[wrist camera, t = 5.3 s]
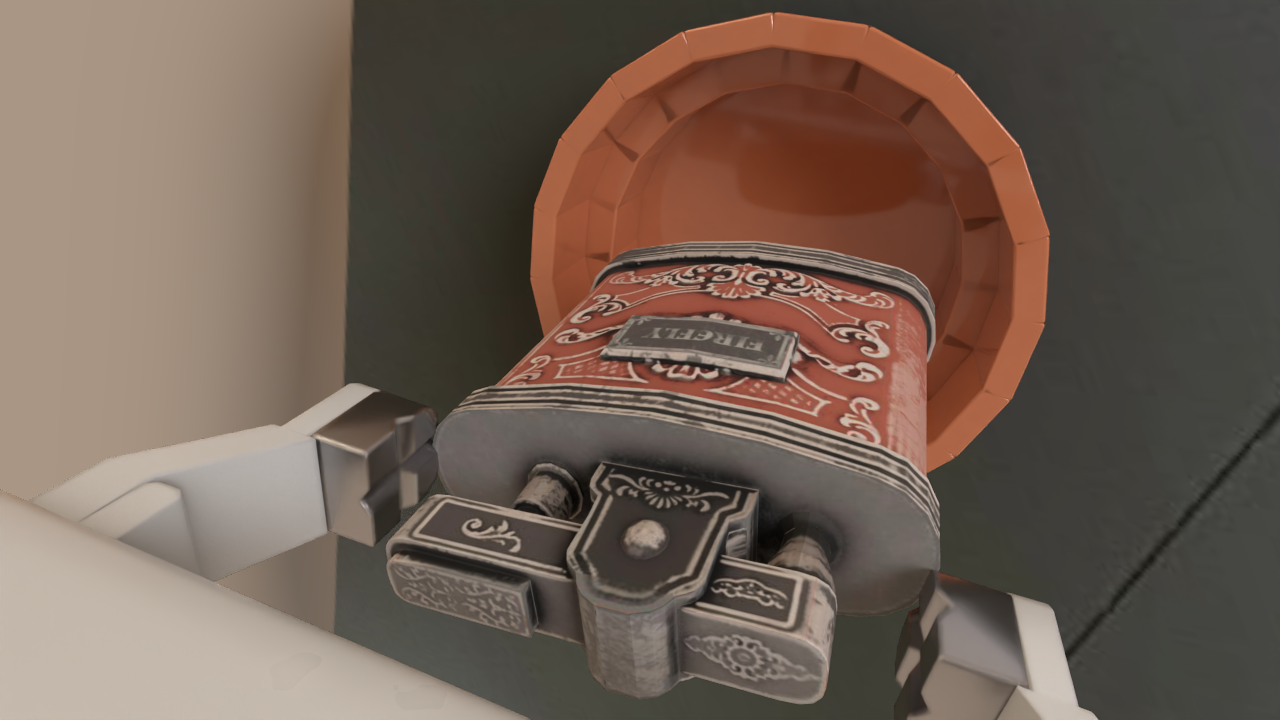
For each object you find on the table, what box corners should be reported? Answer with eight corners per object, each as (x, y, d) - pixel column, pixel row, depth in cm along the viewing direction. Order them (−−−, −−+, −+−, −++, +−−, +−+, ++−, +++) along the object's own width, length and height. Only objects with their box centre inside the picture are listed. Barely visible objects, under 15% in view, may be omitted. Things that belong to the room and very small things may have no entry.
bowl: (1093, 58, 20) (1161, 65, 14) (929, 463, 26) (936, 566, 21) (623, -9, 23) (544, -21, 18) (585, 366, 30) (520, 434, 25)
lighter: (947, 252, 14) (972, 632, 6) (924, 389, 16) (920, 831, 8) (596, 231, 17) (292, 477, 9) (607, 350, 19) (360, 650, 10)
